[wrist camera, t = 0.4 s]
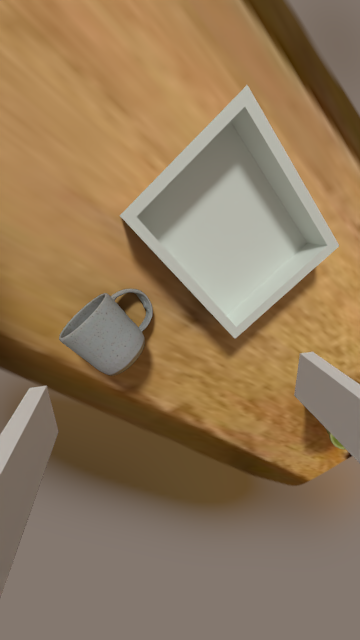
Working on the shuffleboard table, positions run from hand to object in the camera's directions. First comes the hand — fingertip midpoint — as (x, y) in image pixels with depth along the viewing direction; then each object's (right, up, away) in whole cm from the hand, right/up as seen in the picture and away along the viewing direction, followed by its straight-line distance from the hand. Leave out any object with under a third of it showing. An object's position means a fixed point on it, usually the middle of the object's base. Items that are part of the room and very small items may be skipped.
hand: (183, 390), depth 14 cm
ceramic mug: (-9, +4, +22) cm, 25 cm away
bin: (+6, +15, +21) cm, 27 cm away
